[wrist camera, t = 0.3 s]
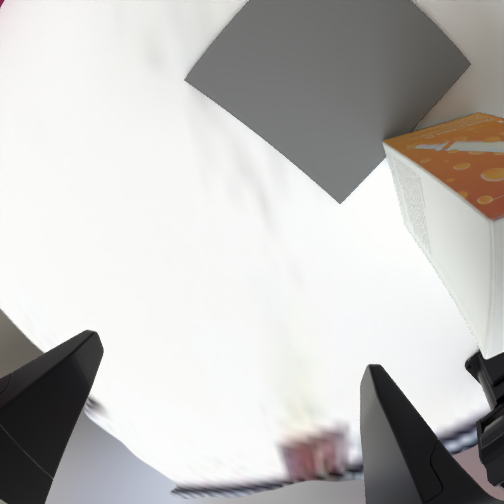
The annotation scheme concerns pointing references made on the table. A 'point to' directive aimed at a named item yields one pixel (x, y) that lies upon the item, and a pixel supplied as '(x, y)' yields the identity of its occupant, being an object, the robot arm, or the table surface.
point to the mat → (329, 79)
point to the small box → (458, 213)
